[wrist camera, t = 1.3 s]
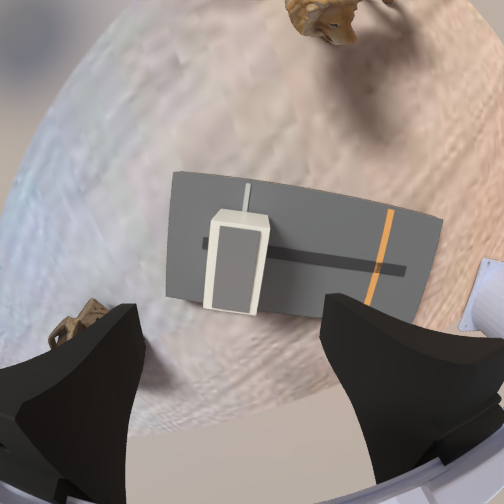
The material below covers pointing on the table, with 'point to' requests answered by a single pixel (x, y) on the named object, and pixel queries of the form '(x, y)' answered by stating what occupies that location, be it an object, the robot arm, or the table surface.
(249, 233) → the fader knob
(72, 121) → the table surface
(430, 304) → the table surface
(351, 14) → the lion figurine
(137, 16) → the table surface
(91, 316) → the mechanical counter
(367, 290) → the fader console
